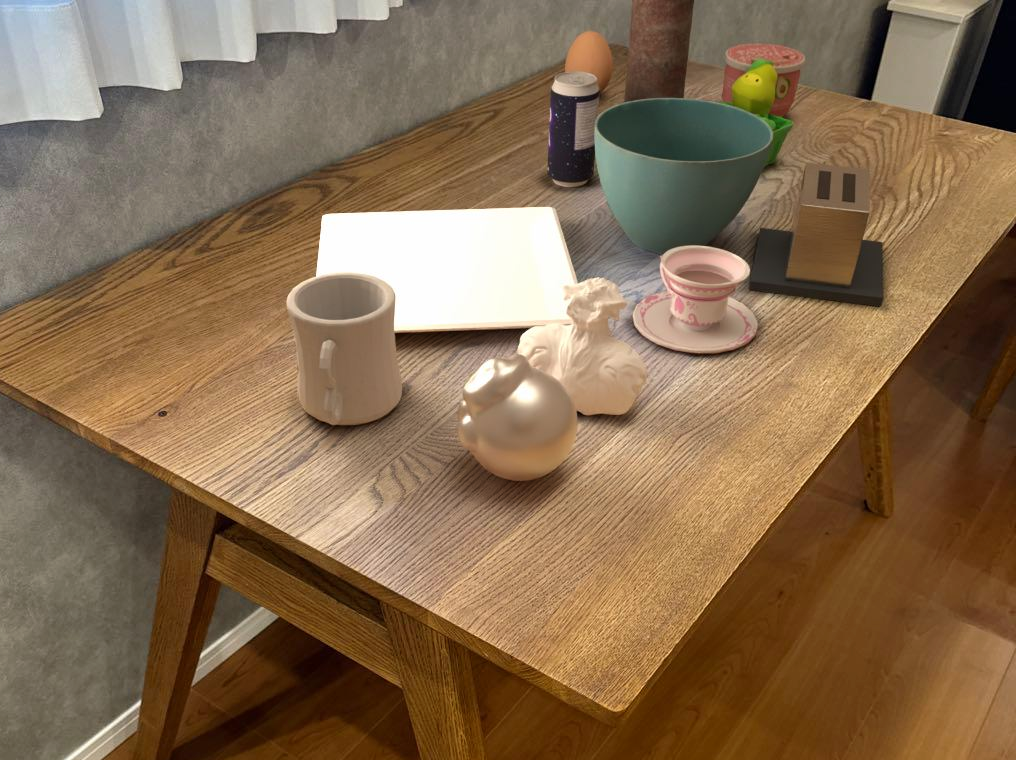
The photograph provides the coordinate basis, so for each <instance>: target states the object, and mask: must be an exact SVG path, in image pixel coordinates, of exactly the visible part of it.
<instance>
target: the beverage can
mask: <svg viewBox="0 0 1016 760" xmlns="http://www.w3.org/2000/svg"><path fill="white" fill-rule="evenodd" d="M600 95H601V94H600V89H599V87H598V84H597V77H596V76H595V75H593V74H590V73H586V72H577V71H575V72H565V71H564V72H560V73H558V74H556V75H555V76H554V82H553V84H552V85H551V87H550V96H549V97H550V99H549V121H548V122H549V123H548V124H549V125H548V145H547V147H548V149H547V170H546V173H547V176H548V177H549V178H551V180H552V181H553V183H554V184H556V185H558V186H559V187H560V186H561V187H565V188H578V187H582V186H584V185H586V184H587V183H588V181H589V180H590V179H592V178H593V177H594V174H595V164H596V163H595V161H596V154H595V140H594V131H595V121H596V119H597V117H598V116H599V108H600Z"/></svg>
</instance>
